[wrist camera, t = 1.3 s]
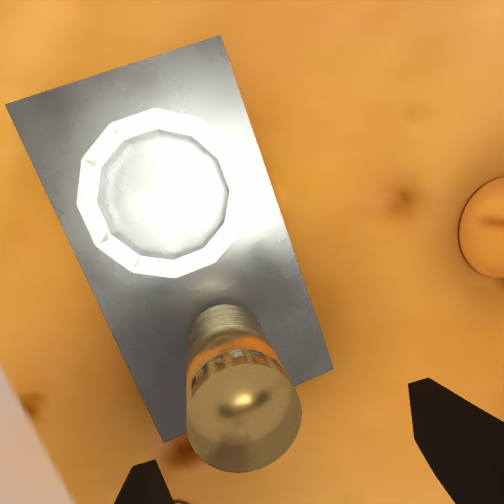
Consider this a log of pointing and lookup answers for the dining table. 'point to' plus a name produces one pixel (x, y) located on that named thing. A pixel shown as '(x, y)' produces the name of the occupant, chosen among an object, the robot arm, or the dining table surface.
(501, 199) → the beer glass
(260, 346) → the brass fitting
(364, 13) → the dining table surface
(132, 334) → the pipe plate
